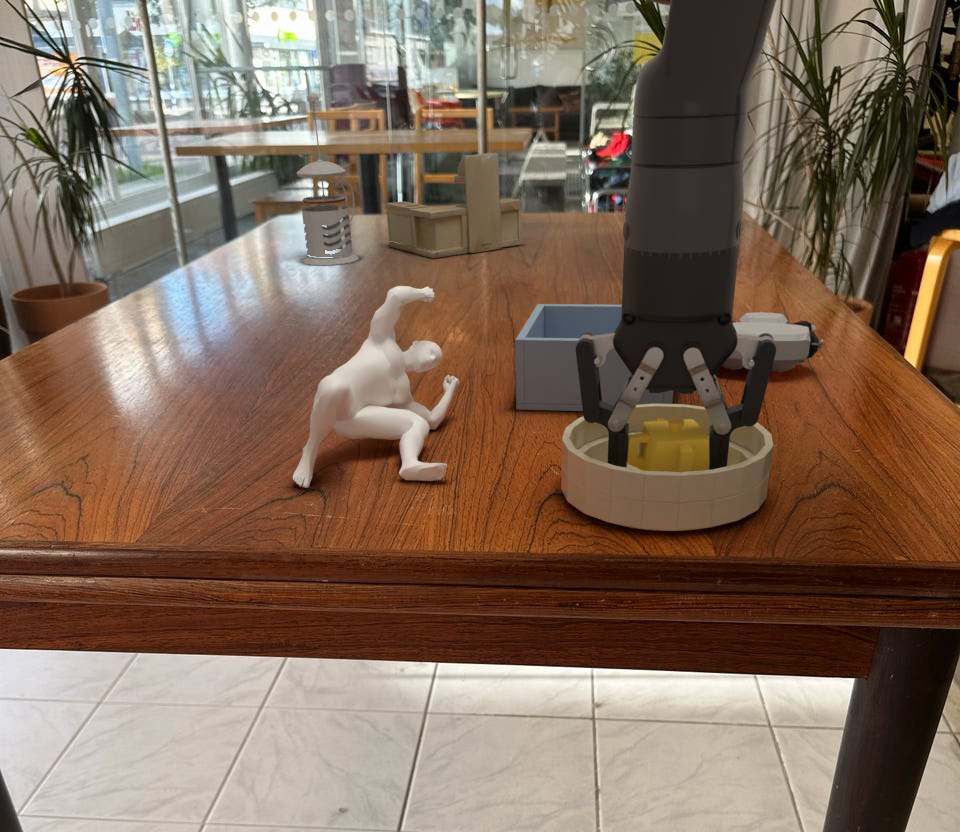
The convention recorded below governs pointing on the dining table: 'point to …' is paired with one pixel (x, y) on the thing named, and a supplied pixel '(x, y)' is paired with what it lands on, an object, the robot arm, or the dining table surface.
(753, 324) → the robot toy
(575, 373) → the bin
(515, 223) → the toy kitchen set
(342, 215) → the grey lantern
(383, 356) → the person figurine
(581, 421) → the bowl
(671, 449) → the teapot
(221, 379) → the dining table surface
